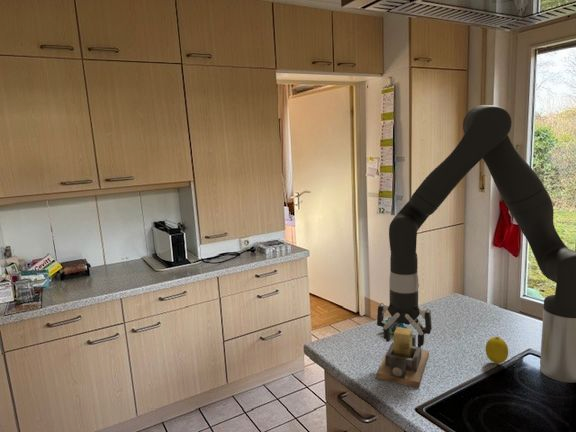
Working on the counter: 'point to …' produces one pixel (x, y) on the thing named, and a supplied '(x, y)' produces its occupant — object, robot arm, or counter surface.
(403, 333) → the block
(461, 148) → the robot arm
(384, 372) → the shaft rig
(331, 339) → the counter surface
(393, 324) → the blue-green animal figure
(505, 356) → the lemon
